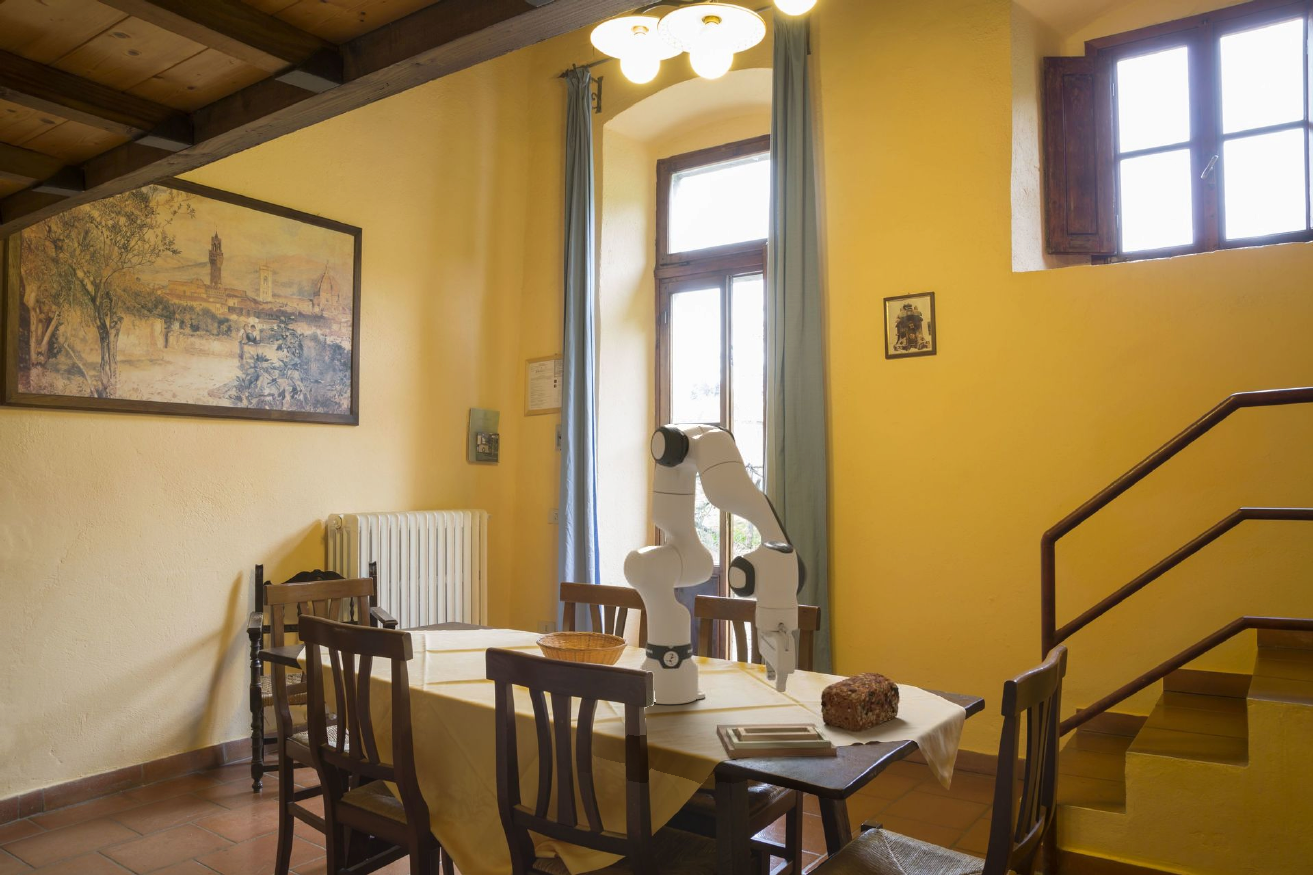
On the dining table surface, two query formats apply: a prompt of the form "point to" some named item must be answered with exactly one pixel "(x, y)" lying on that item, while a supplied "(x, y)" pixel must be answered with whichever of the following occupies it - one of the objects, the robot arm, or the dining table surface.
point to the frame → (776, 733)
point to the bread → (860, 702)
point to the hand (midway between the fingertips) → (775, 685)
